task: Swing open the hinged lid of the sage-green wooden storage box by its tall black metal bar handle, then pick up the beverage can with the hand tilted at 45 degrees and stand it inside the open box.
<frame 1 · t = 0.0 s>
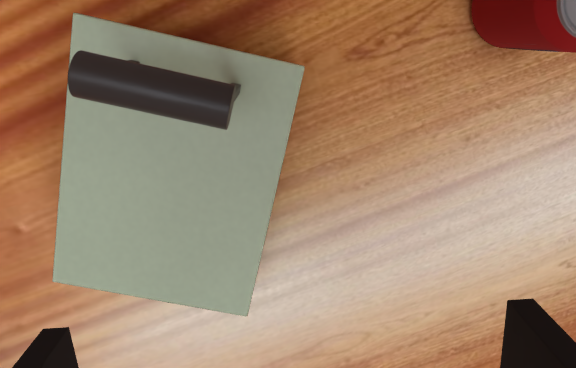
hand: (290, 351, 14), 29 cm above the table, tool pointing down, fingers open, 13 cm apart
beverage can: (506, 5, 38), on the table
lid: (154, 202, 30), point 12 cm above the table, hinge at 0.0°
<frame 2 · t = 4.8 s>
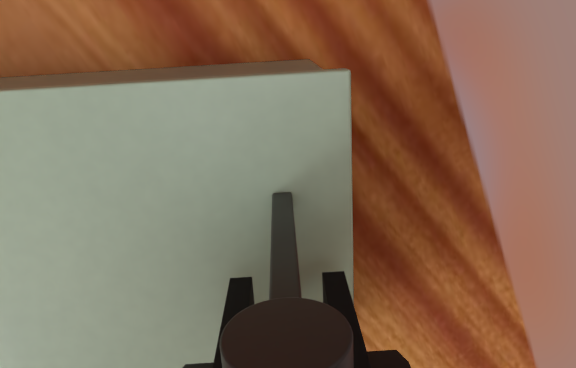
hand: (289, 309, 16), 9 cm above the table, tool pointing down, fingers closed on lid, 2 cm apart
chest: (133, 221, 25), on the table
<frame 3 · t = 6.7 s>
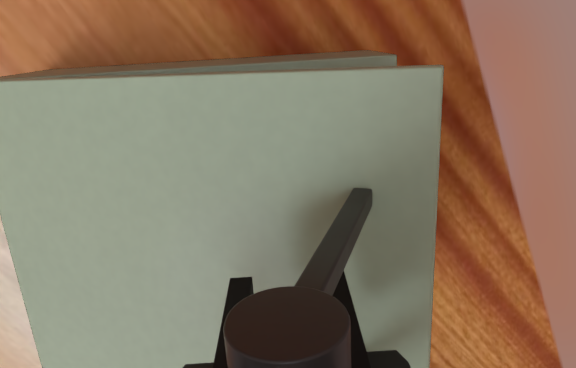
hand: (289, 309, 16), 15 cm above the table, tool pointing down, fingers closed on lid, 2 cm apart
chest: (221, 181, 30), on the table
lid: (118, 319, 16), point 15 cm above the table, hinge at 20.4°, touching gripper
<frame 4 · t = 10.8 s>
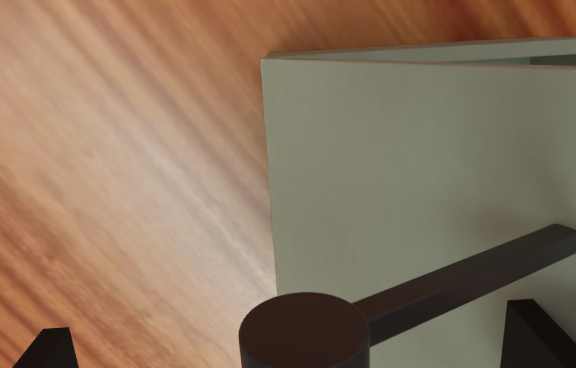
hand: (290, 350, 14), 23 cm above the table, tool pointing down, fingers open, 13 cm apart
chest: (401, 149, 36), on the table
lid: (290, 278, 18), point 19 cm above the table, hinge at 62.0°
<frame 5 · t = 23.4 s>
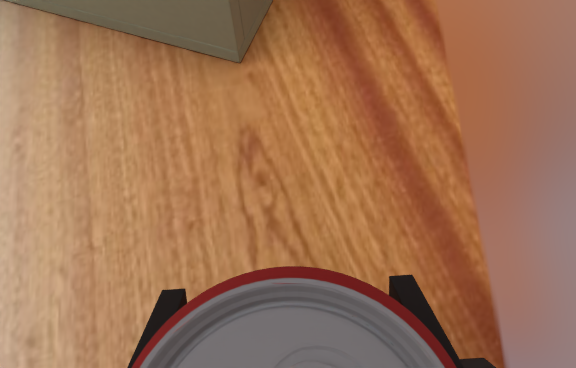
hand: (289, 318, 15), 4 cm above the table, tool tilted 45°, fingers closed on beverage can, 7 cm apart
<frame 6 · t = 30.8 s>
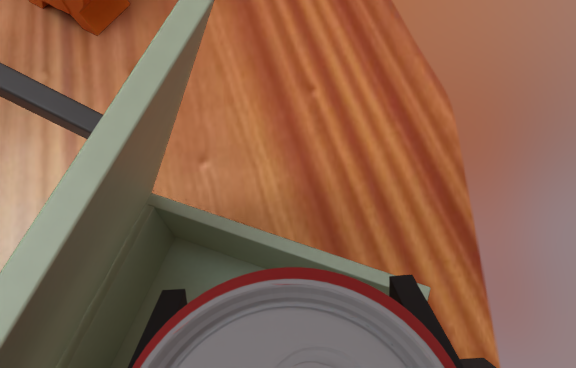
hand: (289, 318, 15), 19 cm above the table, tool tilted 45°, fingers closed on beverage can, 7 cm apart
alarm clock: (81, 3, 50), on the table
chest: (247, 367, 33), on the table
when the fingers open (5 cm above the table, at t = 35.4 s): beverage can stays where it is, resting on chest.
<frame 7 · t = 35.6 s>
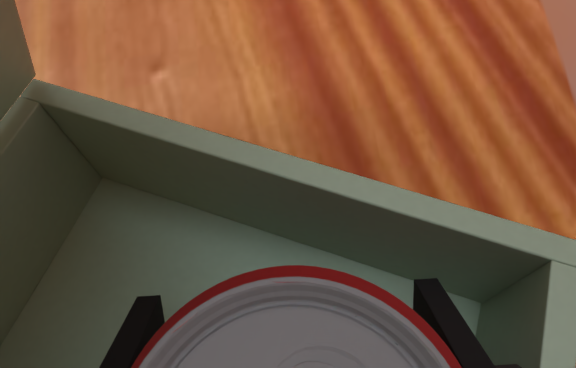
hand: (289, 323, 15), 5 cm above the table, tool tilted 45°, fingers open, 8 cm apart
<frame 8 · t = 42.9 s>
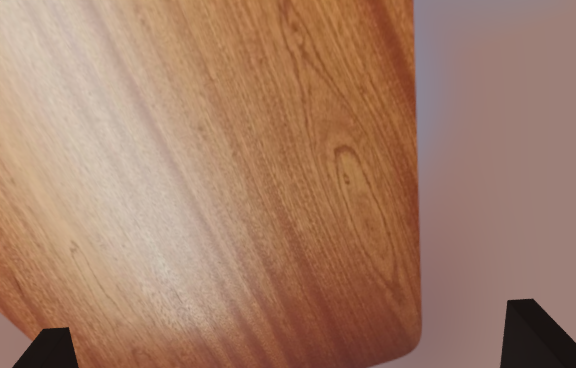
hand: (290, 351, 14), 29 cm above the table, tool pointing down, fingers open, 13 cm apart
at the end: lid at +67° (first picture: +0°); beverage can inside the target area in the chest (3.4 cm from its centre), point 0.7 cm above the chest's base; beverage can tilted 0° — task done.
